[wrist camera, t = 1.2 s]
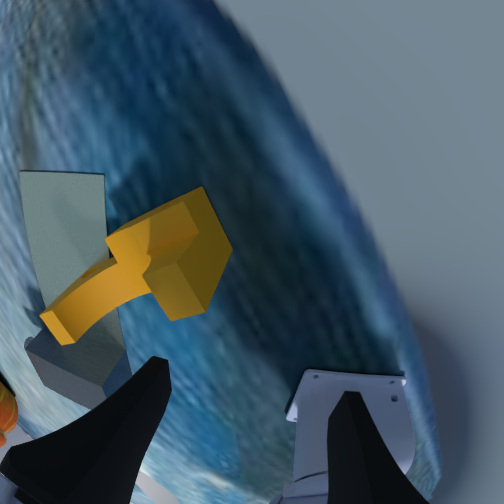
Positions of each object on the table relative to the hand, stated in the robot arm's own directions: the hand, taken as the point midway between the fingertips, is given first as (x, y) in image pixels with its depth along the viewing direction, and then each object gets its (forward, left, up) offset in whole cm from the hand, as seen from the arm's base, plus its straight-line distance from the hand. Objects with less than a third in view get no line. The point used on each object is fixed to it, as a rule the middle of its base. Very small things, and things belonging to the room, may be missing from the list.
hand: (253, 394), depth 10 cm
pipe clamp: (+9, 0, -10) cm, 13 cm away
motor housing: (+18, +6, -9) cm, 22 cm away
